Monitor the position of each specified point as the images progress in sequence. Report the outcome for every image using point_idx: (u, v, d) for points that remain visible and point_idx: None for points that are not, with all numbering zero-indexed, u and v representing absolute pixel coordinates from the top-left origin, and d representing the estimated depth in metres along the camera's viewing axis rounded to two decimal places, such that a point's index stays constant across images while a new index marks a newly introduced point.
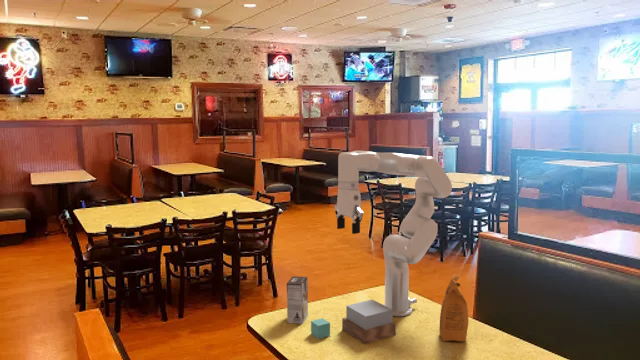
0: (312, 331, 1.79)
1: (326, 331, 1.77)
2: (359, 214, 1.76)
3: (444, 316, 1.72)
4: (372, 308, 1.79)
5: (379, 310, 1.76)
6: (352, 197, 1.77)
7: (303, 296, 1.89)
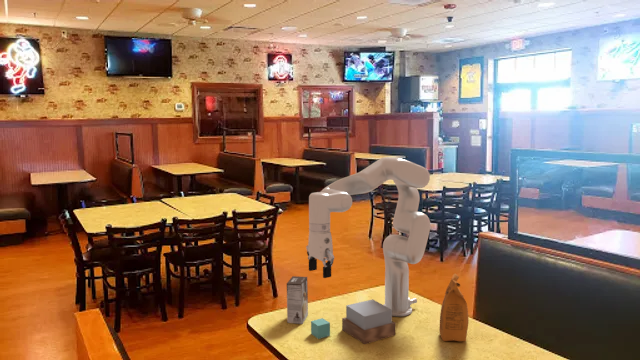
0: (312, 331, 1.79)
1: (326, 331, 1.77)
2: (330, 258, 1.68)
3: (444, 316, 1.72)
4: (372, 308, 1.79)
5: (378, 311, 1.76)
6: (323, 240, 1.70)
7: (303, 296, 1.89)
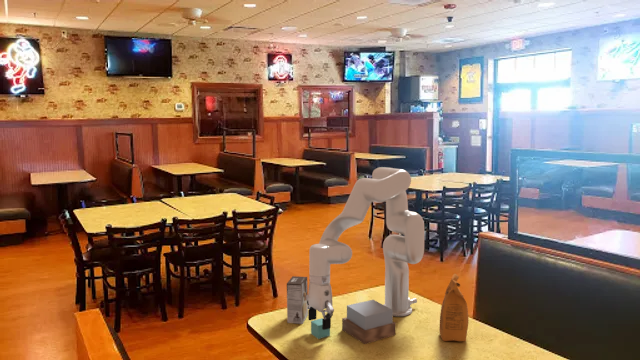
0: (312, 331, 1.79)
1: (326, 331, 1.77)
2: (329, 311, 1.71)
3: (444, 316, 1.72)
4: (372, 308, 1.79)
5: (379, 311, 1.76)
6: (323, 292, 1.72)
7: (303, 296, 1.89)
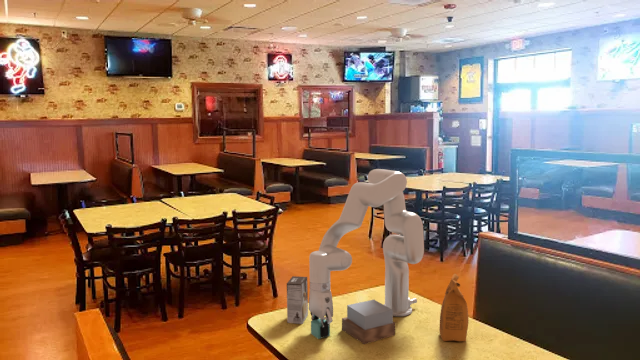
0: (312, 331, 1.79)
1: None
2: (328, 321, 1.72)
3: (444, 316, 1.72)
4: (372, 308, 1.79)
5: (379, 311, 1.76)
6: (323, 299, 1.73)
7: (303, 296, 1.89)
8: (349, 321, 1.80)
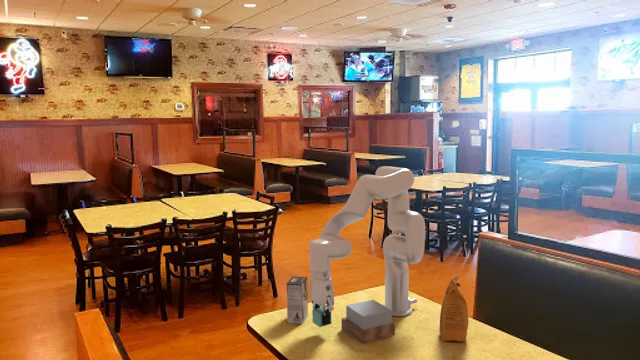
0: (313, 319, 1.79)
1: None
2: (329, 309, 1.72)
3: (444, 316, 1.72)
4: (371, 308, 1.79)
5: (378, 311, 1.76)
6: (324, 288, 1.72)
7: (303, 296, 1.89)
8: (349, 321, 1.80)
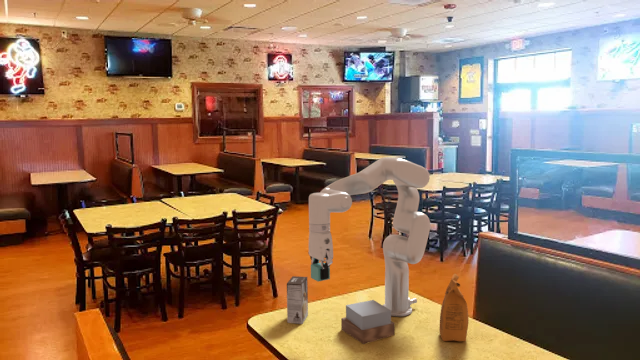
0: (312, 274, 1.76)
1: None
2: (328, 262, 1.70)
3: (444, 316, 1.72)
4: (371, 308, 1.78)
5: (377, 311, 1.76)
6: (323, 240, 1.70)
7: (303, 296, 1.89)
8: (348, 321, 1.80)
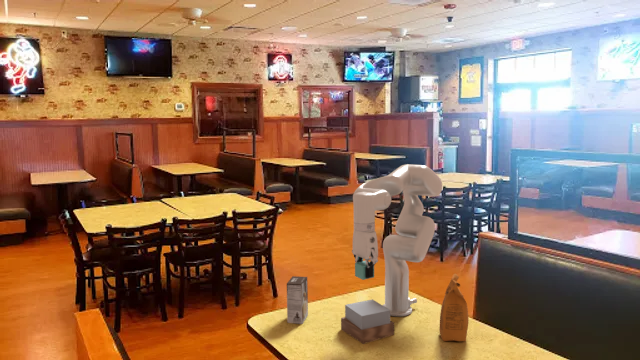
0: (356, 273, 1.78)
1: None
2: (373, 260, 1.71)
3: (444, 316, 1.72)
4: (370, 308, 1.79)
5: (376, 311, 1.76)
6: (368, 239, 1.72)
7: (303, 296, 1.89)
8: (348, 321, 1.80)
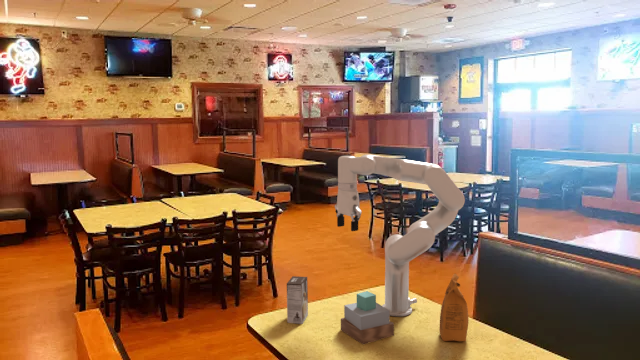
0: (358, 304, 1.79)
1: (373, 303, 1.78)
2: (357, 213, 1.90)
3: (444, 316, 1.72)
4: None
5: (375, 311, 1.76)
6: (351, 197, 1.92)
7: (303, 296, 1.89)
8: (348, 321, 1.79)
